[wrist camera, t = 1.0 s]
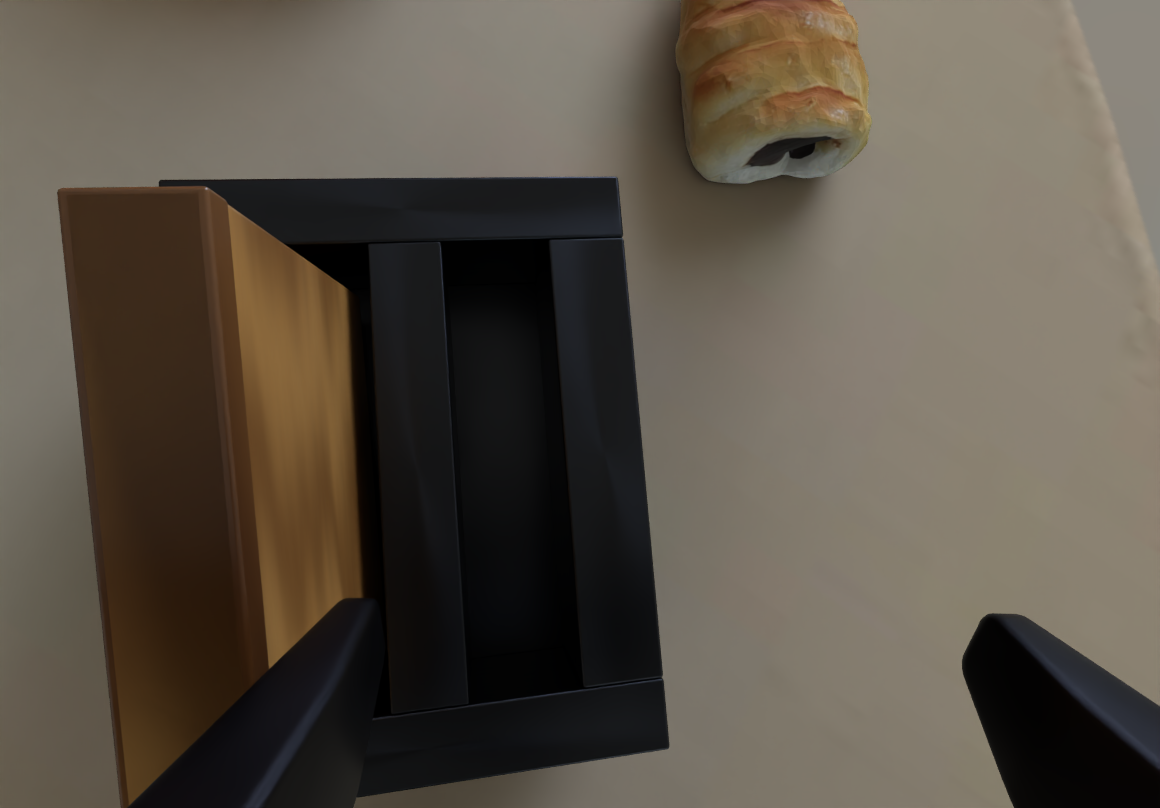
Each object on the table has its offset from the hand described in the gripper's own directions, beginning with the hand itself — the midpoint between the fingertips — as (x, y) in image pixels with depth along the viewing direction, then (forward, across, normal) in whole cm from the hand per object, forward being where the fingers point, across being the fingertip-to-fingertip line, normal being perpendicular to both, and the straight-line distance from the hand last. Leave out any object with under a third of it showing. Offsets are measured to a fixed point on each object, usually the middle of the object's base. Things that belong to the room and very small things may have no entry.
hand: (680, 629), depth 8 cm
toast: (+8, +7, +4) cm, 11 cm away
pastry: (+21, -5, -5) cm, 22 cm away
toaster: (+11, +5, +6) cm, 14 cm away
